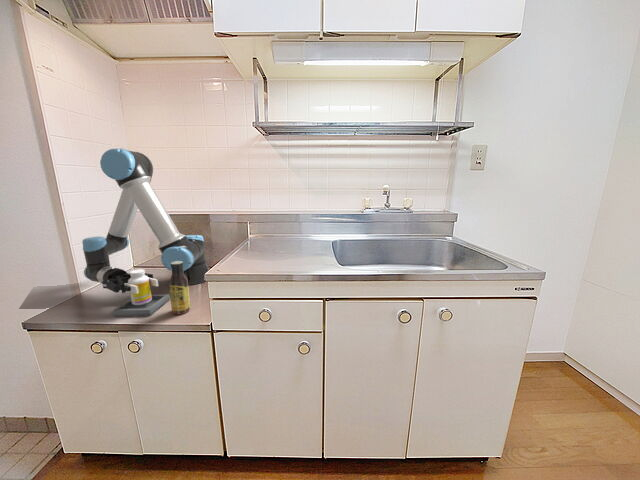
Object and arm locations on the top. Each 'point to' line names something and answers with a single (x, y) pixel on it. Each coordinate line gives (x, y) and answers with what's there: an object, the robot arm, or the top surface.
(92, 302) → the top surface
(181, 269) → the sauce bottle
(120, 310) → the tray
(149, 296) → the supplement bottle
